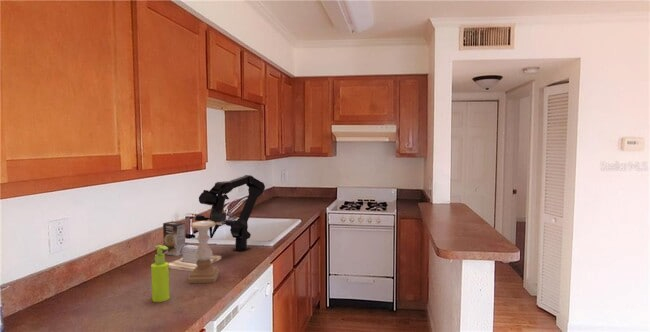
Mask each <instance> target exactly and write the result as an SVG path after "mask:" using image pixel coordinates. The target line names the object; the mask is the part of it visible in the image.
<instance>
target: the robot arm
mask: <svg viewBox="0 0 650 332" xmlns="http://www.w3.org/2000/svg"><path fill="white" fill-rule="evenodd" d="M244 185H246V186H247V187H248V189H247V190H248V196H247V197H246V201H245V202H244V203H245V204H244V205H243V208H242V210H241V212H240V214H239V217H238V219H233V220H231V219H226V217H227V213H226V212H224V208H225V203H226V202H225V201H226V200H230V198H229V196H228V195H227V194H229V193H231V192H232V191H233V190H234V189H236V188H238V187H242V186H244ZM265 188H266V186H265V184H264V182H263V181H261V180H259V179H257V178H255V177H254V176H253V175H248V174H245V175H242V176H240V177H237V178H235V179H234V178H233V179H231V180H229V181H228V180H227V181H225V180H224V181H217V182H215V183H214V185H213V186H212V188H211V189H210V190H207V189H203V192H201V193H200V195H199V196H198V202H199V203H200V204H202V205H205V206H206V205H207V206H211V207H210V213H209V217H206V216H205V215H200V214H196V215H195V218H194V221H195V222H196V221H214V222H215V223H216V224H215V225H214V226H212V227H210V228H209V230H208V231H209V237H210V238H209V239H213V237H214V235H215V234H216V231H217V230H218V229H219V228H220V227H223V226H222V225H225V226H227V227H228V226H229V227H230V234H231V236H232V238H235V247H234V248H233V251H241V252H244V251H246V250H248V249H250V246H248V240H249V239H250V238H251V235H252V234H251V233H250V232H249V230H248V228H249V225H248V222H249V219H250V216H251V214H252V212H253V209H254V207H255V205H256V203H257V200H258V198H259V197H261V196H262V195H263V192H265V190H266V189H265Z"/></svg>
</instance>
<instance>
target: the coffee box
mask: <svg viewBox="0 0 650 332" xmlns="http://www.w3.org/2000/svg"><path fill="white" fill-rule="evenodd" d="M162 225H163V226H162V227H163V228H162V231H163V233H162V234H163V246H166V247H168V249H166V250H163V254H165V255H168V256H175V257H179V256H182V247H184V246H186V223H185V222H180V221H173V220H172V221H168V222H167V221H166V222H163V223H162Z"/></svg>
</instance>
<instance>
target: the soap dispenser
mask: <svg viewBox="0 0 650 332" xmlns="http://www.w3.org/2000/svg"><path fill="white" fill-rule="evenodd" d="M154 248H155V249H156V252H157V253H156V254H155V255H154V263H152V264H151V265H150V267H151V268H150V269H151V270H150V271H151V273H150V274H151V301H152V302H153V303H163V302H166V301H168V300H169V299H170V271H169V269H170V268H169V263H170V262H167V261H166V256H165V255H166V254H164V252H163V251H164V250H166V249H168V247H166V246H164V244H163V245H161V244H159V245H154Z"/></svg>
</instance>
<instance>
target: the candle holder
mask: <svg viewBox="0 0 650 332" xmlns="http://www.w3.org/2000/svg"><path fill="white" fill-rule="evenodd" d="M215 224H216V223H215V222H214V221H196V220H195V221H193V222H191V223H190V227H191V228H193V229H196V230H197V231H198V236H197V237H196V240H197V241H198V245H197V246H198V248H197V250H196V251H195V258H196V259H198V261H197V262H196V265H197V266H198V267H196V268H195V269H194V270H193V271H192V272H191V273H190V275H189V276H188V278H187V284H213V283H216V281H217V279H218V277H219V275H220V270H219V268H218V267H217V266H212V265H211V260H210V259H209V258H211V257H212V255H214V254H213V250H212V248H211V247H210V246H209V244H208V242H209V239H211V238H210V235H209V234H208V231H209V228H210V227H212V228H213V227H214V226H215Z"/></svg>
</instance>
